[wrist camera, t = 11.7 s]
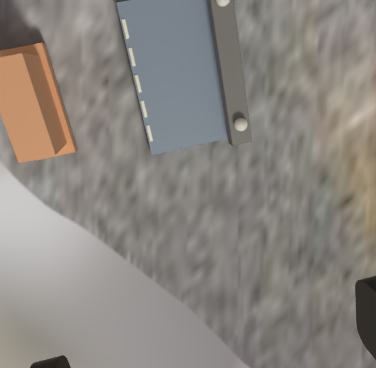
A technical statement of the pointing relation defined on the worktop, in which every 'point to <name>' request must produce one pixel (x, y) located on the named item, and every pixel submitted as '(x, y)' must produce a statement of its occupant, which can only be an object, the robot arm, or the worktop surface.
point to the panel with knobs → (186, 71)
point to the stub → (33, 104)
